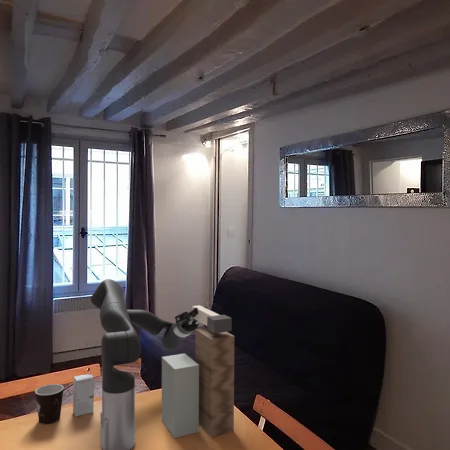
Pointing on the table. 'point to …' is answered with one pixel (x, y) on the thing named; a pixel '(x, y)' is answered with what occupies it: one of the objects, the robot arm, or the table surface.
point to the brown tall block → (215, 381)
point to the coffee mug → (49, 403)
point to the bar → (213, 320)
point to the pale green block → (180, 395)
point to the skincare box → (83, 394)
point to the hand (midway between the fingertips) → (201, 309)
